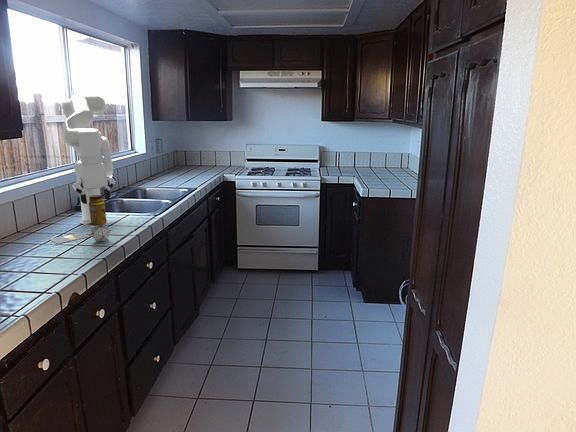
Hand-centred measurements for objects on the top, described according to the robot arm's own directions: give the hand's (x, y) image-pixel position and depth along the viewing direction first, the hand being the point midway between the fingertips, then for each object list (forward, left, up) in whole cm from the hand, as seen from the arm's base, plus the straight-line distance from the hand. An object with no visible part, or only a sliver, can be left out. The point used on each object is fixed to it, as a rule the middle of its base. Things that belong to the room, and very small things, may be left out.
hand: (96, 201), depth 178 cm
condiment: (0, -1, -10) cm, 10 cm away
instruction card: (-14, -7, -17) cm, 24 cm away
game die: (+1, 0, -18) cm, 18 cm away
